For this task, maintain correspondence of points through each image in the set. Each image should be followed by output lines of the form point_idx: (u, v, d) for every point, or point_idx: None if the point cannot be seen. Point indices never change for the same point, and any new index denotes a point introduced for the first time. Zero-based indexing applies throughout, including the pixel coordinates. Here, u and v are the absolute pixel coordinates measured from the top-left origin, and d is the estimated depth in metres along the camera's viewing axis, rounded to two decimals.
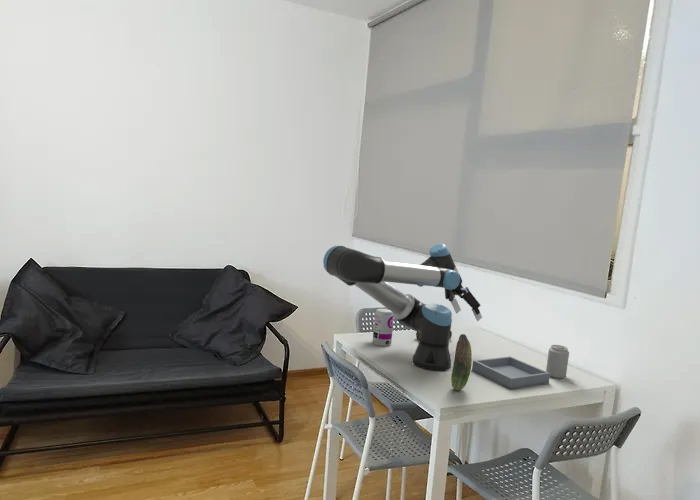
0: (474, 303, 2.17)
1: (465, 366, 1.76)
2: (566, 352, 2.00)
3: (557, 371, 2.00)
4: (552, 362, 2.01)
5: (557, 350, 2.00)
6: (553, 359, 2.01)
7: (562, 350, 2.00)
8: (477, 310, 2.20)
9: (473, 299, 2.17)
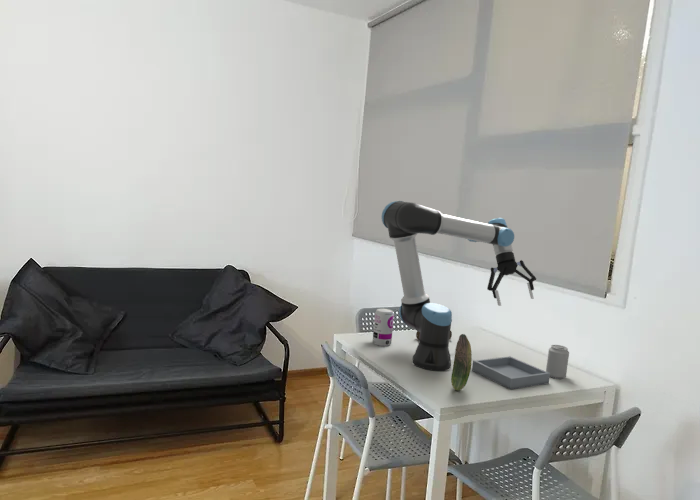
0: None
1: (465, 366, 1.76)
2: (566, 352, 2.00)
3: (557, 371, 2.00)
4: (552, 362, 2.01)
5: (557, 350, 2.00)
6: (553, 359, 2.01)
7: (562, 350, 2.00)
8: (532, 285, 2.15)
9: None
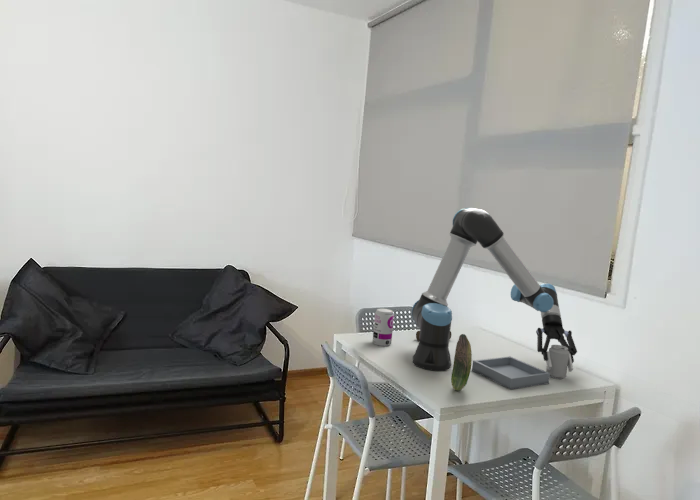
0: None
1: (465, 366, 1.76)
2: (566, 352, 2.00)
3: (557, 371, 2.00)
4: (552, 361, 2.01)
5: (557, 350, 2.00)
6: (553, 359, 2.00)
7: (562, 350, 2.00)
8: None
9: None
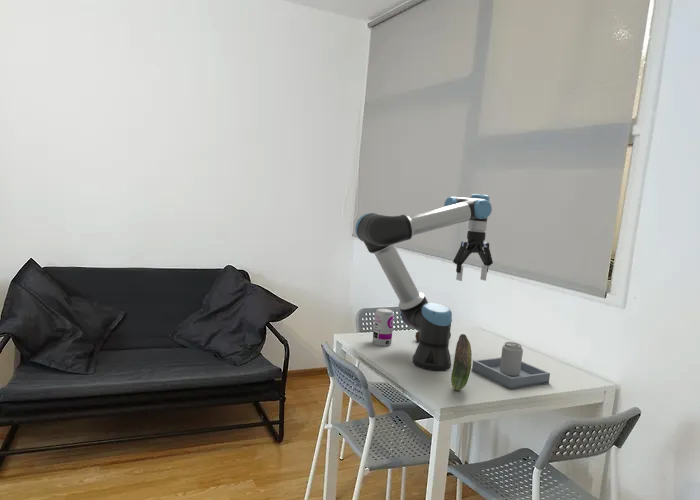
0: None
1: (465, 366, 1.76)
2: (519, 349, 1.94)
3: (510, 368, 1.95)
4: (505, 359, 1.96)
5: (510, 347, 1.95)
6: (506, 357, 1.95)
7: (515, 347, 1.94)
8: None
9: None
